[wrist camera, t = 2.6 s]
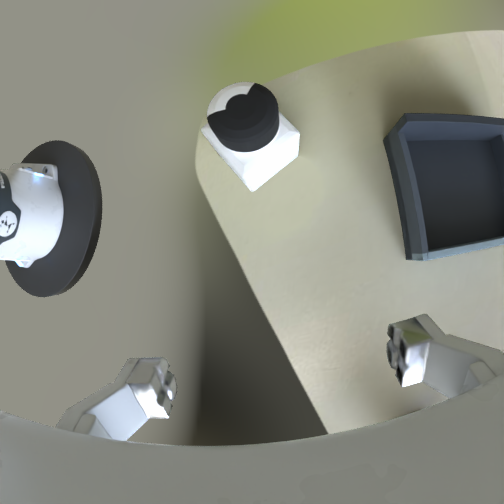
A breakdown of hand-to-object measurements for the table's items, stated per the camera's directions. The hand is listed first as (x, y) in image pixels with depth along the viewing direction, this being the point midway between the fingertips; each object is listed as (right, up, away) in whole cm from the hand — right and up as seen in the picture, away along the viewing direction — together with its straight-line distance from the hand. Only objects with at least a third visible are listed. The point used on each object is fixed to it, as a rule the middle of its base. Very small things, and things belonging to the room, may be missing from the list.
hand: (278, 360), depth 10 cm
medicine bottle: (0, +16, +24) cm, 29 cm away
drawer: (+25, +11, +21) cm, 34 cm away
